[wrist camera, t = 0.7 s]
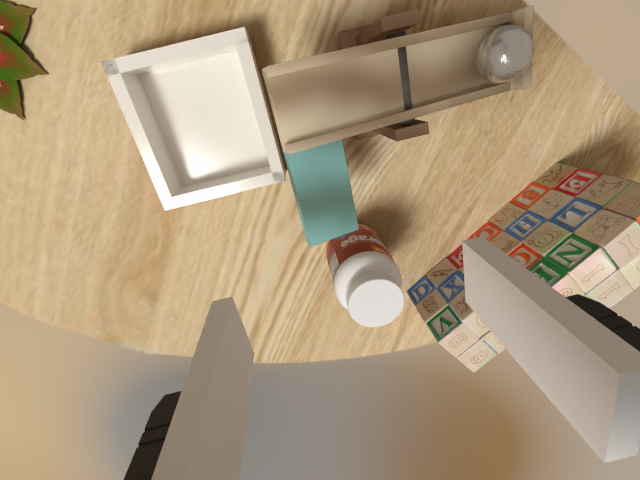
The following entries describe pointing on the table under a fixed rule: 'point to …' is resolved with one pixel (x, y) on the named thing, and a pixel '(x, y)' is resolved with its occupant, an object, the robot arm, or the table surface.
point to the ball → (504, 54)
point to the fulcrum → (379, 33)
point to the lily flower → (14, 56)
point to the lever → (371, 105)
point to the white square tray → (199, 117)
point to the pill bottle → (365, 277)
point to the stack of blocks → (543, 253)
